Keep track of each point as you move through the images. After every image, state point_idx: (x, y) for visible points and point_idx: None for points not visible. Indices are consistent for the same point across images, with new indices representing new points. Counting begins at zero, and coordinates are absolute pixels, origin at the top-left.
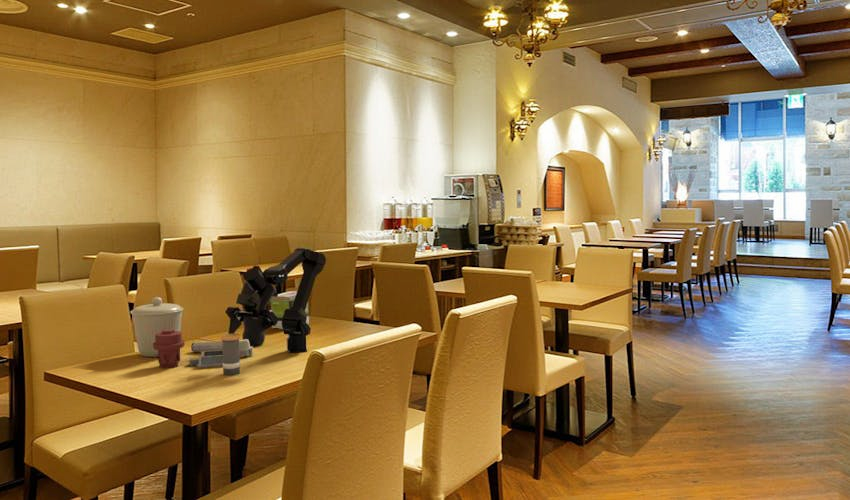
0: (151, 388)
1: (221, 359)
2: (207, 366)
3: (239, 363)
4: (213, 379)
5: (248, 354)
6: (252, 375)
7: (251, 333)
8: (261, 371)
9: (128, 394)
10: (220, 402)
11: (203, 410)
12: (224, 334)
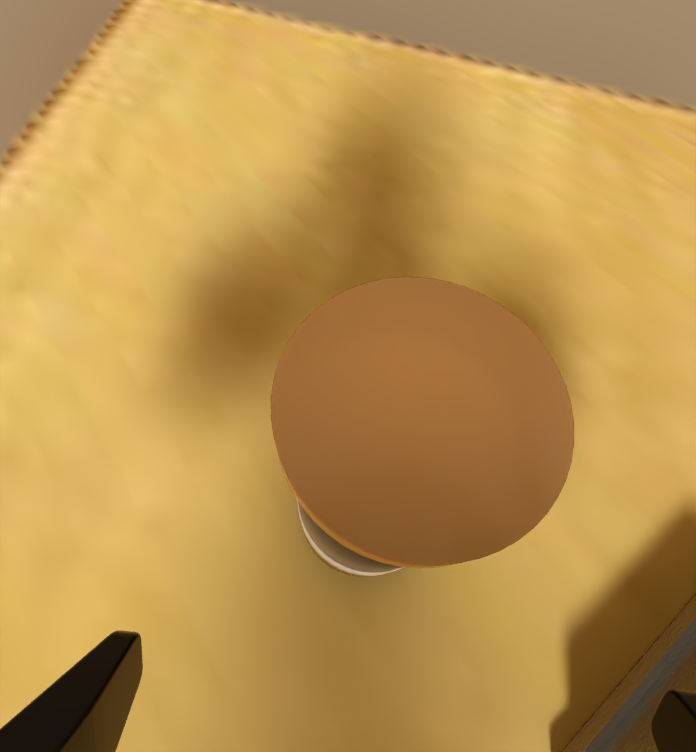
0: (549, 156)
1: (650, 722)
2: (680, 616)
3: (301, 523)
4: None
5: None
6: (173, 512)
7: (91, 686)
8: (155, 656)
9: (556, 86)
10: (107, 81)
11: (127, 14)
12: (561, 420)
